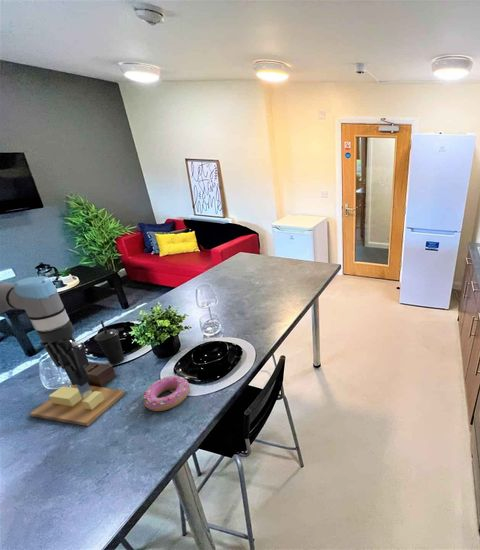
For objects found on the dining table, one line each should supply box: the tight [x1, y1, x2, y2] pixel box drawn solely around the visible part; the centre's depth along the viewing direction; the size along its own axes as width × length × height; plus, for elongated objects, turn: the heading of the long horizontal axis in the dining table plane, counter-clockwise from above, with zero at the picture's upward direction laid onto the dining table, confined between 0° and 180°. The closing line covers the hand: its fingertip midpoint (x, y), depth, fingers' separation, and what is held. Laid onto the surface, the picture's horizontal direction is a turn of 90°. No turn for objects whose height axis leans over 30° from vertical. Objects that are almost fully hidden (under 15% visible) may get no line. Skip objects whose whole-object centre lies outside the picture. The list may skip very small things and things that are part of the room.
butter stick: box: [48, 385, 82, 406], centre depth 103 cm, size 8×5×4 cm, turn 82°
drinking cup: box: [94, 320, 125, 365], centre depth 120 cm, size 8×8×20 cm
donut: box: [141, 375, 190, 412], centre depth 107 cm, size 14×14×5 cm
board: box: [29, 384, 126, 427], centre depth 103 cm, size 22×14×2 cm, turn 82°
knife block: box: [85, 361, 117, 388], centre depth 113 cm, size 10×6×6 cm, turn 82°
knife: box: [65, 363, 92, 400], centre depth 99 cm, size 2×3×18 cm
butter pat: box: [82, 391, 104, 410], centre depth 102 cm, size 3×5×4 cm, turn 172°
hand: (81, 382), depth 98 cm, fingers closed on knife, 2 cm apart
